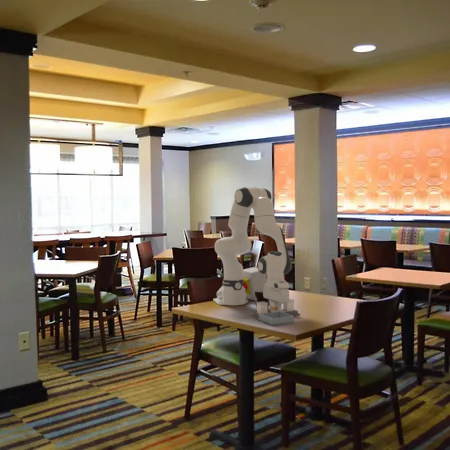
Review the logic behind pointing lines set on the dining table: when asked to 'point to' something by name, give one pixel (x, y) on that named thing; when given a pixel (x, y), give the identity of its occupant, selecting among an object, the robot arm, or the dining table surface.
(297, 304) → the dining table surface
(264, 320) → the tray
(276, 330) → the dining table surface
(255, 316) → the holder
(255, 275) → the electrical switch box
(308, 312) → the dining table surface
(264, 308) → the fuse
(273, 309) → the fuse marked
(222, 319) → the dining table surface
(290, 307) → the fuse
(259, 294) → the coffee mug
